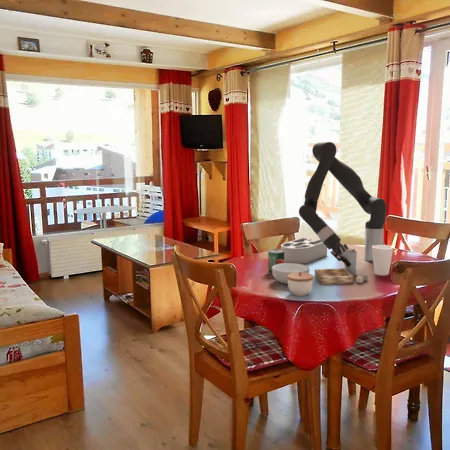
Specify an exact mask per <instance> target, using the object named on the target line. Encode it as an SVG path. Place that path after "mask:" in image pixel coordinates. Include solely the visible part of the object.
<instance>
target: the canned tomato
mask: <svg viewBox="0 0 450 450" xmlns="http://www.w3.org/2000/svg"><path fill="white" fill-rule="evenodd" d="M267 252H268V256H267V258H268V259H267V260H268V261H267V263H268V274H269V275H272V276H273V274H272V267H273V266H274V265H277V264H283V263H285V262H284V252H285V251H284V250H281V248H280V249H279V248H272V249H269V250H268V251H267Z"/></svg>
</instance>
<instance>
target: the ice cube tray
mask: <svg viewBox="0 0 450 450" xmlns="http://www.w3.org/2000/svg"><path fill="white" fill-rule="evenodd" d="M280 249H281V250H284V251H285V252H284V263H294V264H302V265H305V264H309V263H311V262H314V261H317V260H319V259H322V258H324V257H327V256H328V248H327V247H326V246H325V244H324V243H323V242H322V241H321V240H320V239H316V240H312V239H311V238H307V237H300V238H297V239H294V240H290V241H288V242H284V243H282V244H280Z"/></svg>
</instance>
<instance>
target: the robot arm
mask: <svg viewBox="0 0 450 450" xmlns="http://www.w3.org/2000/svg"><path fill="white" fill-rule="evenodd" d="M311 151H312V155H313V157H314V158H315V160H317V162H318V164H317V167H316V169H315V170H314V173H313V174H312V176H311V178H310V179H309V181H308V183H307V187H306V190H305V193H304V203H303V205H301V206H300V207H299V208H298V215H299V216H300V218H301V219H302V220H303V221H304V222H305V223H306V224H307V225H308V226H309V227H310V229H312V231H313V232H314V234H316V236H318V238H319V239H318V240H321V241H322V242H323V243H324V244H325V246H326V247H327V250H331V251H330V254H331V255H332V256H333V257H334V258H335V259H336V260H337V261H338V262H340V261H341V262H343V264H344V266H345V265H346V266H347V267H349V266H350V265H351V263H350V262H349V261H348V260H347V259H346V257H345V251H347V249H349V246H348V245H347V244H346V243H344V244H342V243H341V238H340V237H339V235H338V234H337V233H336V232H335V231H334V230H333V229H332V228H331V227H330V226H329V225H328V223H326V222H325V220H324V219H323V218H321V217H320V216H319V215H318V213H317V209H318V203H319V197H320V195H321V192H322V189H323V184H324V182H325V180H326V177H327V175H328V172H330V174H331V175H332V176H333V178H335V179H336V180H337V182H339V184H341V186H342V187H343V188H344V189H345V190H346V191H347V192H348V193H349V195H351V196H352V197H353V199H355V200H356V202H357V203H358V204H359V206H360V207H361V209H362V210H363V212H365V213H366V214H368V215H370V217H369V220H367V221H365V224H364V225H365V227H364V229H365V231H364V261H368V262H369V261H370V262H373V255H372V246H374V245H385V242H384V229H385V228H384V227H385V223H386V220H387V219H386V218H387V202H386V201H385V200H384V198H380V197H376V196H373V195H371V194H370V193H369V192H368V191H367V190H366V188H365V187H364V183H363V180H362V179H361V177H360V176H359V175H358V174H357V172H356V171H355V169H352V167H350V166H348V165H347V164H346V163H345V162H342V161H340V160H339V159H338V158H337V157H336V154H337V146H336V144H335V143H334V142H332V141H321V142H317V143H315V144H314V145H313V146H312V150H311Z"/></svg>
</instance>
